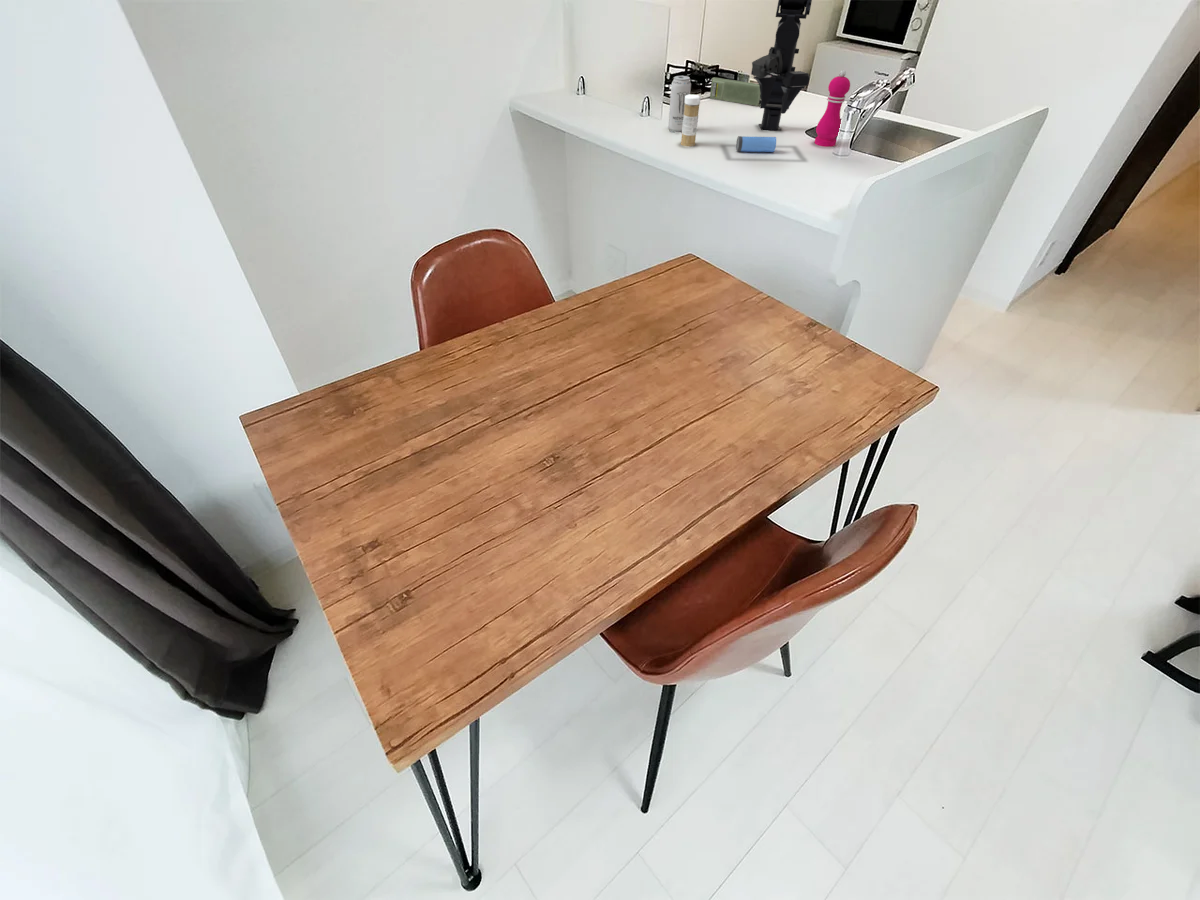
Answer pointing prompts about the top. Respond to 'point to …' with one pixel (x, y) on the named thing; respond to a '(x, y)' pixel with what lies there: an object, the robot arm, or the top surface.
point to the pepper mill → (832, 111)
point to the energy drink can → (678, 102)
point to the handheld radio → (735, 91)
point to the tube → (755, 144)
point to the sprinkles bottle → (690, 119)
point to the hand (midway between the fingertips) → (773, 109)
